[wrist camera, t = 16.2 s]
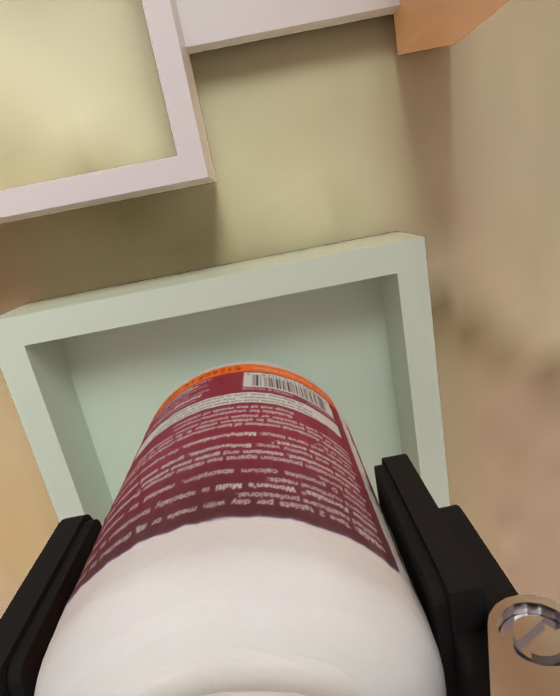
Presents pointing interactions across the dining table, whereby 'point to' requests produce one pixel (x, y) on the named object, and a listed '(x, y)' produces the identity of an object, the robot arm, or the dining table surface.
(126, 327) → the tray
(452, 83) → the dining table surface
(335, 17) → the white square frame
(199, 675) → the pill bottle
